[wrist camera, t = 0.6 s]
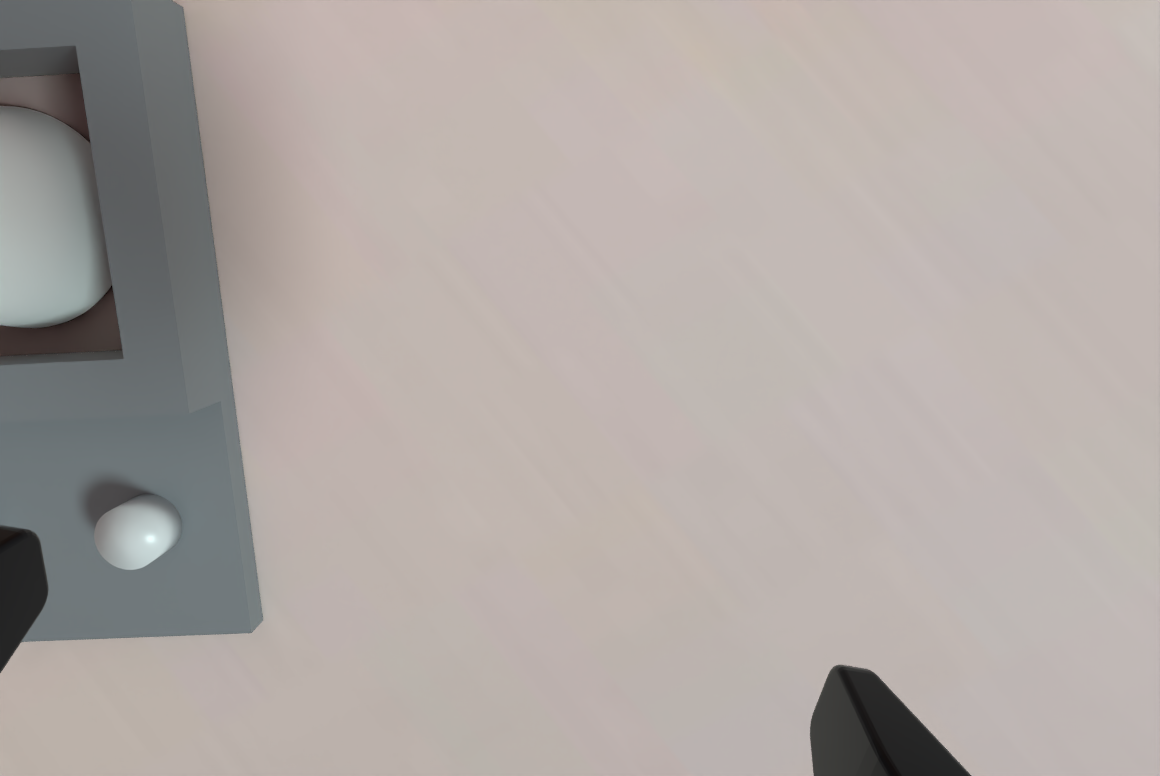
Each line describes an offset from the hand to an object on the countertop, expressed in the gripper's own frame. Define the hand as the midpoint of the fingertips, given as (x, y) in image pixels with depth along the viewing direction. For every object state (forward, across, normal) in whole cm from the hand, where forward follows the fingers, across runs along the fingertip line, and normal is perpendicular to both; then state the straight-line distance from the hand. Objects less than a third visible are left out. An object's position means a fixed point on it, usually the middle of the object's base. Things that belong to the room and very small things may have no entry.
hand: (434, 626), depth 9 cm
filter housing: (+13, +14, +4) cm, 20 cm away
